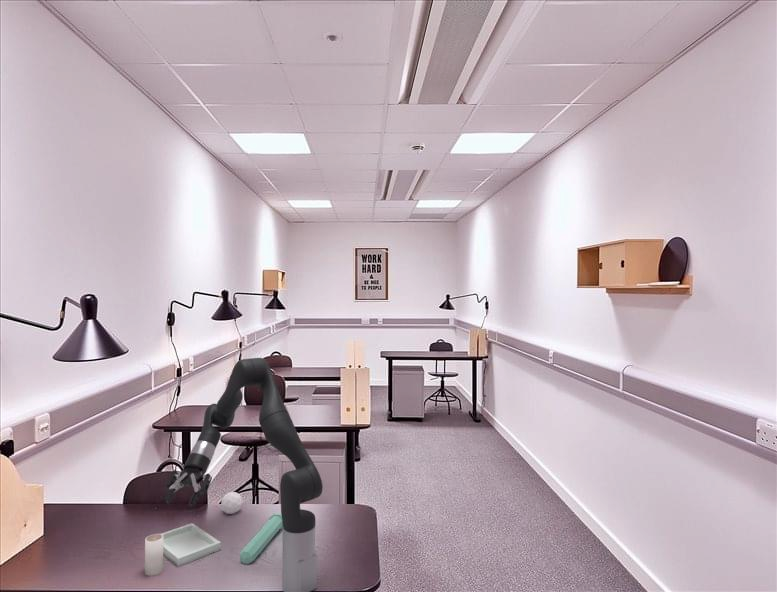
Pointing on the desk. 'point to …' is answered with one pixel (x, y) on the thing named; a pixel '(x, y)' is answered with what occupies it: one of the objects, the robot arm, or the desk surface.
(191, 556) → the tray
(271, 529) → the green faceted rod
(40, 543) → the desk surface
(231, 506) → the geometric ball
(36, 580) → the desk surface
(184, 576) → the desk surface
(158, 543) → the cup
